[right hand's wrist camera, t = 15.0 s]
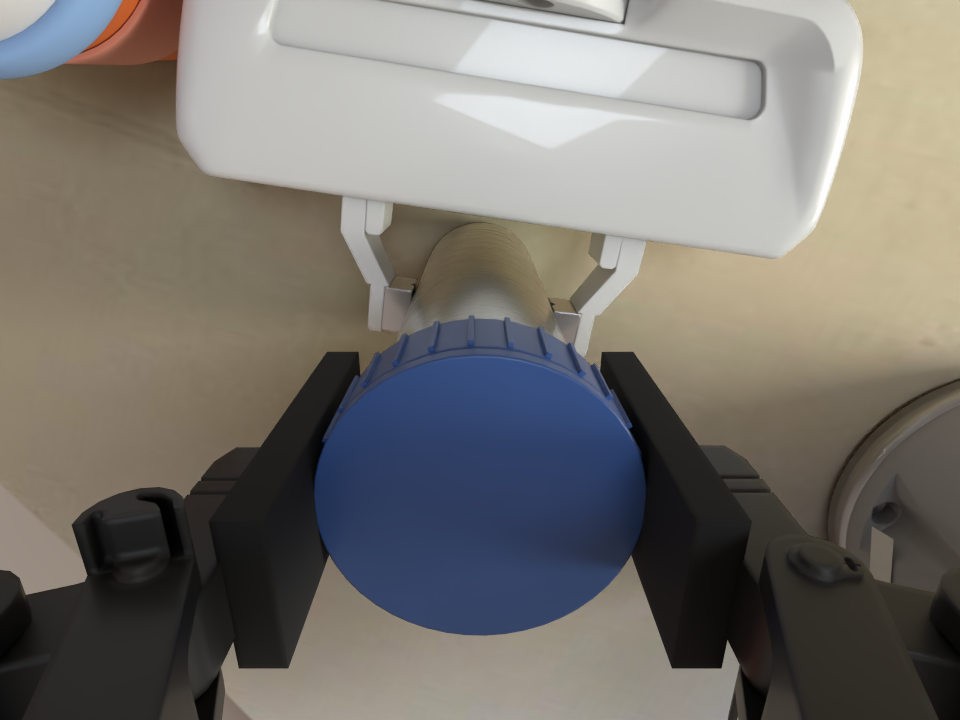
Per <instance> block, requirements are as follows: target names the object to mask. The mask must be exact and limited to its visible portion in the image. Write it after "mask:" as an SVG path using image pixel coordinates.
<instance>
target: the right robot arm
mask: <svg viewBox="0 0 960 720" xmlns="http://www.w3.org/2000/svg"><path fill="white" fill-rule="evenodd" d="M600 372H601V374H602V376H603V378H604V380H605V382H606V384H607V386H608V388H609V390H612V389H613V390H614V392H615V394H616V396H617V398H618V400H619V402H620V404H621V406H622V407H623V409H624V411H625V413H626V415H627V417H628V419H629V421H630V423H631V425H632V427H631V428H629V429H630V431H631V433H632V435H633V437H634V439H635V441H636V443H637V445H638V447H639V449H640V451H641V453H642V458H641V459H642V463H643V466H644V471H645V477H646V484H647V492H646V501H645V510H644V517H643V525H642V529H641V533H640V536H639V539H638V541H637V543H636V545H635V547H634V550H633V552H632V554H631V555H632V558H633V561H634V564H635V566H636V569H637V572H638V575H639V577H640V580H641V583H642V586H643V589H644V591H645V594H646V597H647V600H648V603H649V605H650V608H651V611H652V614H653V616H654V619H655V622H656V625H657V628H658V630H659V633H660V636H661V639H662V642H663V644H664V647H665V650H666V653H667V655H668V658H669V661H670V664H671V667H672V668H722V663H723V658H724V653H725V649H726V644H727V639H728V641H729V643H730V645H731V648H732V650H733V652H734V654H735V656H736V658H737V660H738V662H739V664H740V666H739V671H738V675H737V679H736V684H735V688H734V693H733V697H732V702H731V706H730V711H729V716H728V720H737V718H738V720H960V381H957V382H954V383H952V384H949V385H946V386H944V387H942V388H939V389H937V390H934V391H932V392H930V393H928V394H926V395H925V396H923V397H921V398H919V399H917V400H915V401H914V402H912V403H910V404H909V405H907V406H905V407H904V408H903V409H901V410H900V411H898V412H897V413H896V414H894V415H893V416H891V417H890V418H889V419H888V420H887V421H885V422H884V423H883V424H882V425H881V426H879V427H878V428H877V429H876V430H875V431H874V432H873V433H872V434H871V435H870V436H869V437H868V438H867V439H866V440H865V442H864V443H863V444H862V445H861V446H860V447H859V448H858V450H857V451H856V452H855V454H854V455H853V456H852V458H851V459H850V461H849V462H848V464H847V465H846V467H845V469H844V470H843V472H842V474H841V476H840V478H839V480H838V482H837V485H836V487H835V490H834V492H833V495H832V499H831V503H830V507H829V514H828V537H829V541H827V540H824V539H820V538H816V537H813V536H809V535H807V533H806V532H805V531H804V530H803V529H802V527H801V526H800V525H799V524H798V522H797V521H796V520H795V519H794V518H793V516H792V515H791V514H790V513H789V511H788V510H787V509H786V508H785V506H784V505H783V504H782V503H781V502H780V500H779V499H778V498H777V497H776V495H775V494H774V493H771V491H770V488H769V487H768V486H767V484H766V483H765V482H764V481H763V480H762V479H760V478H759V475H758V473H757V472H756V471H755V470H754V469H753V467H752V466H751V465H750V464H749V462H748V461H747V460H746V459H744V458H743V457H741V456H740V455H738V454H737V453H735V452H733V451H732V450H730V449H729V448H727V447H726V446H699V445H698V444H697V442H696V441H695V439H694V438H693V437H692V435H691V434H690V432H689V431H688V429H687V428H686V427H685V425H684V424H683V422H682V421H681V419H680V418H679V417H678V415H677V414H676V412H675V411H674V410H673V408H672V407H671V405H670V404H669V402H668V401H667V400H666V398H665V397H664V395H663V394H662V392H661V391H660V390H659V388H658V387H657V385H656V384H655V382H654V381H653V380H652V378H651V377H650V375H649V374H648V372H647V371H646V370H645V368H644V367H643V365H642V364H641V362H640V361H639V360H638V358H637V357H636V355H635V354H634V352H602V357H601V369H600ZM356 375H357V376H358V377H360V365H359V353H358V352H327V353H326V354H325V356H324V357H323V359H322V360H321V362H320V363H319V364H318V366H317V367H316V369H315V370H314V372H313V373H312V374H311V376H310V377H309V379H308V380H307V381H306V383H305V384H304V386H303V387H302V389H301V390H300V391H299V393H298V394H297V396H296V397H295V399H294V400H293V401H292V403H291V404H290V406H289V407H288V409H287V410H286V411H285V413H284V414H283V416H282V417H281V419H280V420H279V421H278V423H277V424H276V426H275V427H274V429H273V430H272V431H271V433H270V434H269V436H268V437H267V439H266V440H265V441H264V443H263V444H262V446H261V447H260V448H235V449H233V450H232V451H230V452H229V453H227V454H225V455H224V456H222V457H221V458H219V459H218V460H216V461H215V462H214V463H213V464H212V465H211V466H210V468H209V469H208V470H207V471H206V473H205V474H204V475H203V476H202V478H201V481H198V483H197V484H196V485H195V486H194V487H193V489H192V490H191V491H190V495H187V496H186V497H185V499H184V500H183V497H182V496H181V495H180V494H178V493H177V492H176V491H174V490H171V489H166V488H161V487H155V488H140V489H136V490H131V491H127V492H123V493H119V494H117V495H114V496H112V497H110V498H107V499H105V500H102V501H100V502H98V503H97V504H95V505H94V506H92V507H90V508H89V509H87V510H86V511H84V512H83V513H82V514H81V515H80V516H79V517H78V518H77V519H76V521H75V522H74V523H73V524H72V528H73V531H74V534H75V537H76V540H77V543H78V547H79V550H80V553H81V556H82V559H83V563H84V566H85V569H86V572H87V575H88V576H87V578H86V580H85V582H82V583H79V584H75V585H71V586H66V587H61V588H57V589H52V590H47V591H43V592H38V593H33V594H29V595H26V594H25V592H24V589H23V586H22V584H21V581H20V578H19V577H17V576H16V575H15V574H13V573H12V572H11V571H4V570H0V720H222V713H223V704H224V696H225V687H224V680H223V675H222V671H221V666H222V664H223V662H224V659H225V657H226V655H227V653H228V651H229V649H230V647H231V645H232V643H233V642H234V647H235V652H236V656H237V661H238V666H239V668H289V665H290V662H291V659H292V656H293V654H294V651H295V648H296V645H297V643H298V640H299V637H300V634H301V631H302V629H303V626H304V623H305V620H306V617H307V615H308V612H309V609H310V606H311V603H312V601H313V598H314V595H315V592H316V590H317V587H318V584H319V581H320V578H321V576H322V573H323V570H324V567H325V564H326V562H327V559H328V556H329V553H328V551H327V550H326V547H325V545H324V542H323V540H322V538H321V535H320V533H319V529H318V523H317V515H316V507H315V499H314V478H315V473H316V469H317V464H318V460H319V457H320V454H321V452H322V449H323V447H324V444H325V443H324V442H322V439H323V437H324V435H325V433H326V431H327V429H328V427H329V425H330V423H331V421H332V419H333V417H334V416H335V414H336V412H337V410H338V408H339V406H340V404H341V402H342V400H343V398H344V396H345V394H346V392H347V390H348V388H349V387H350V385H351V383H352V381H353V379H354V377H355V376H356Z"/></svg>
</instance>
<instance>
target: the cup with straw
mask: <svg viewBox="0 0 960 720" xmlns="http://www.w3.org/2000/svg"><path fill="white" fill-rule="evenodd" d="M182 5H183V0H0V80H2V79H14V78H21V77H26V76H31V75H36V74H39V73H42V72H45V71H48V70H51V69H53V68H55V67H57V66H60V65H62V64H84V65H140V64H145V63H150V62H154V61H157V60H163V61H169V60H177V57H178V45H179V32H180V22H181V14H182Z"/></svg>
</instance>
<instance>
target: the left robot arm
mask: <svg viewBox="0 0 960 720" xmlns="http://www.w3.org/2000/svg"><path fill="white" fill-rule="evenodd" d="M862 59H863V39H862V31H861V27H860V23H859V20H858V17H857V15H856V13H855V11H854V10H853V8H852V7H851V5H850V4H849V3H848V2H847V1H846V0H183V5H182V14H181V22H180V32H179V45H178V57H177V77H176V129H177V135H178V138H179V141H180V142H181V144H182V145H183V147H184V148H185V150H186V151H187V153H188V154H189V155H190V157H191V158H192V160H193V161H194V163H195V164H196V165H197V167H198V168H199V169H200V170H201V171H202V172H203V173H204V174H206V175H208V176H212V177H218V178H225V179H232V180H238V181H245V182H252V183H259V184H266V185H272V186H279V187H286V188H293V189H300V190H306V191H313V192H320V193H327V194H334V195H340V196H342V208H341V226H340V231H341V233H342V235H343V237H344V239H345V241H346V243H347V245H348V247H349V249H350V251H351V253H352V255H353V257H354V259H355V261H356V263H357V265H358V267H359V269H360V271H361V273H362V275H363V277H364V279H365V281H366V283H367V284H370V296H369V310H368V323H367V325H368V330H372V331H377V332H388V333H397V334H398V333H399V331H400V328H401V326H402V323H403V321H404V318H405V316H406V313H407V311H408V309H409V306H410V304H411V301H412V299H413V296H414V294H415V291H416V287H417V279H414V278H407V277H401V276H395V275H396V273H395V271H394V269H393V266H392V264H391V262H390V260H389V257H388V255H387V253H386V250H385V248H384V246H383V243H382V241H381V239H380V237H379V235H380V234H381V233H382V232H383V231H385V230H386V229H387V228H388V227H389V226H390V225H391V222H392V211H393V203H395V204H401V205H408V206H415V207H422V208H429V209H435V210H442V211H449V212H456V213H463V214H469V215H476V216H483V217H490V218H497V219H503V220H510V221H517V222H524V223H531V224H537V225H544V226H551V227H558V228H565V229H571V230H578V231H585V232H592V237H591V242H590V247H589V254H590V256H591V257H592V258H593V259H594V260H595V261H596V262H597V263H598V265H597V267H596V268H595V269H594V270H593V271H592V273H591V274H590V275H589V276H588V277H587V279H586V280H585V281H584V282H583V283H582V285H581V286H580V287H579V288H578V289H577V291H576V292H575V293H574V294H573V295H572V297H571V298H570V300H565V299H556V298H548V301H549V303H550V306H551V308H552V310H553V313H554V315H555V318H556V320H557V323H558V325H559V327H560V330H561V332H562V335H563V337H564V340H565V342H566V344H568V343H569V342H571V343H572V344H573V345H574V347H575V349H576V351H577V353H579V354H580V355H581V356H582V357H585V355H586V353H587V349H588V344H589V340H590V335H591V331H592V327H593V322H594V318H595V316H599V315H600V314H601V313H602V312H603V311H604V310H605V309H606V308H607V307H608V305H609V304H610V303H611V302H612V301H613V300H614V299H615V298H616V297H617V296H618V295H619V294H620V293H621V292H622V291H623V290H624V288H625V287H626V286H627V285H628V284H629V283H630V282H631V281H632V280H633V279H634V278H635V277H636V276H637V275H638V272H639V268H640V264H641V260H642V256H643V252H644V248H645V244H646V241H653V242H660V243H666V244H673V245H680V246H687V247H694V248H700V249H707V250H714V251H721V252H728V253H734V254H741V255H748V256H755V257H762V258H769V259H777V258H780V257H782V256H784V255H785V254H786V253H788V252H789V251H790V250H792V249H793V248H794V247H795V246H796V245H798V244H799V243H800V242H801V241H802V240H803V239H805V238H806V237H807V236H808V235H809V234H810V233H811V232H812V231H813V229H814V228H815V226H816V224H817V222H818V220H819V218H820V216H821V213H822V211H823V208H824V205H825V203H826V200H827V197H828V194H829V191H830V188H831V185H832V182H833V179H834V176H835V173H836V170H837V166H838V163H839V160H840V156H841V153H842V150H843V146H844V142H845V139H846V135H847V131H848V128H849V124H850V120H851V116H852V112H853V108H854V103H855V99H856V95H857V90H858V85H859V81H860V75H861V69H862Z"/></svg>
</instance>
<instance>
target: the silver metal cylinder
mask: <svg viewBox="0 0 960 720" xmlns="http://www.w3.org/2000/svg"><path fill="white" fill-rule="evenodd" d="M469 315H474V317H475V319H498V320H504V318H505V317H508V318H510V321H511V322H516V323H520V324H523V325H526V326H530V327H533V328H536V329H538V327H539V326H540V327H543V328H544V330H545V333H547V334H550V335H552V336H554V337H555V338H557V339H559V340H560V341H562V342H564V343H565V344H566V342H565V340H564V337H563V335H562V332H561V330H560V327H559V325H558V323H557V320H556V318H555V315H554V313H553V310H552V308H551V306H550V303H549V301H548V298H547V296H546V293H545V291H544V289H543V286H542V284H541V281H540V279H539V277H538V274H537V272H536V269H535V267H534V264H533V262H532V260H531V257H530V255H529V253H528V251H527V249H526V247H525V246H524V244H523V243H522V242H521V241H520V240H519V239H518V238H517V237H516V236H515V235H514V234H513V233H511V232H510V231H508V230H507V229H505V228H502V227H500V226H498V225H494V224H490V223H470V224H466V225H462V226H460V227H457V228H455V229H454V230H452V231H450V232H449V233H447V234H446V235H445V236H444V237H443V238H442V239H441V240H440V241H439V242H438V243H437V244H436V246H435V247H434V249H433V251H432V253H431V255H430V257H429V260H428V262H427V265H426V267H425V269H424V272H423V274H422V277H421V279H420V282H419V284H418V287H417V289H416V291H415V294H414V296H413V299H412V301H411V304H410V306H409V309H408V311H407V313H406V316H405V318H404V321H403V323H402V326H401V328H400V331H399V333H398V335H397V338H396V340H395V343H396V342H398V341H399V340H400V338H401V335H403V334H405V333H407V335H408V336H409V335H411V334H413V333H415V332H417V331H419V330H422V329H425V328H428V327H430V326H433V323H434V322H435V321H438V320H439V322H440V324H441V323H445V322H450V321H454V320H464V319H469ZM395 343H394V344H395Z"/></svg>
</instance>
